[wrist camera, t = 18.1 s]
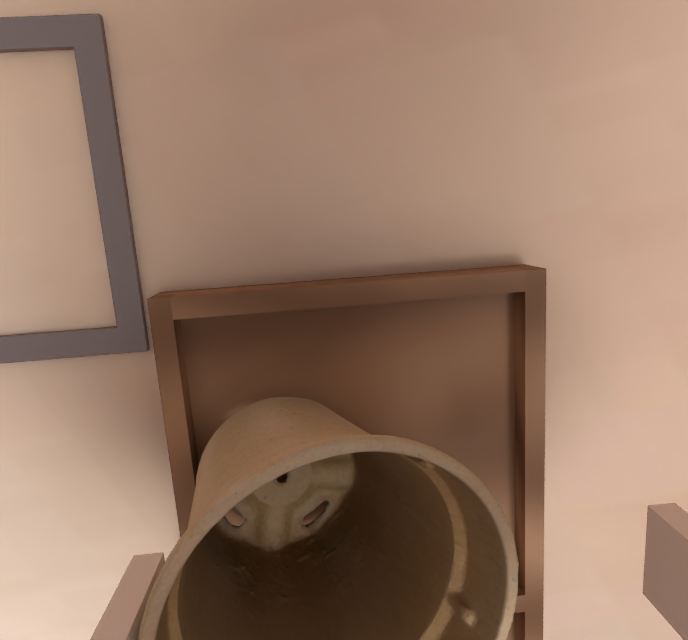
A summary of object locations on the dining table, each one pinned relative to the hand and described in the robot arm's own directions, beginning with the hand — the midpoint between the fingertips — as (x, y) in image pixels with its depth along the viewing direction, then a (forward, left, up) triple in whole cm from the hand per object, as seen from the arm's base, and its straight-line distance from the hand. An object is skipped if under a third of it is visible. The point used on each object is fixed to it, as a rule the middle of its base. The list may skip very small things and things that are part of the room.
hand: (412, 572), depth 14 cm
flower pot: (0, -4, -7) cm, 8 cm away
